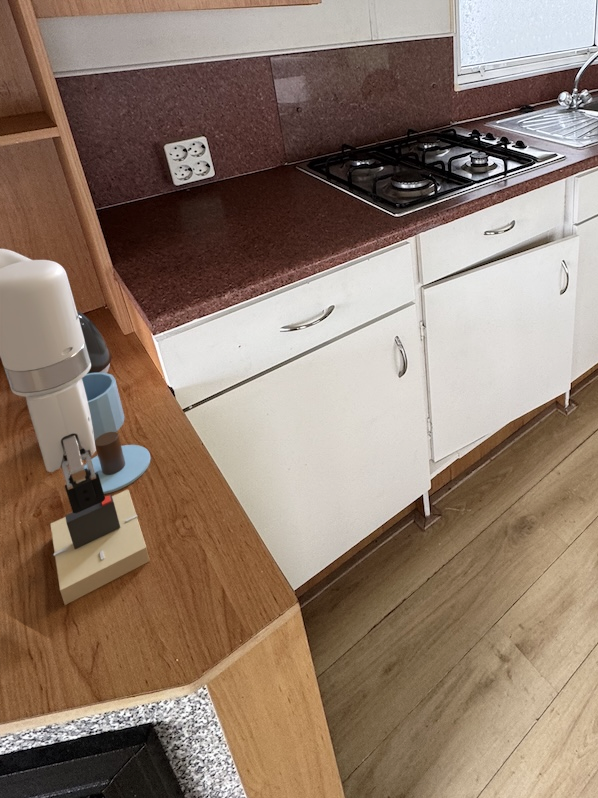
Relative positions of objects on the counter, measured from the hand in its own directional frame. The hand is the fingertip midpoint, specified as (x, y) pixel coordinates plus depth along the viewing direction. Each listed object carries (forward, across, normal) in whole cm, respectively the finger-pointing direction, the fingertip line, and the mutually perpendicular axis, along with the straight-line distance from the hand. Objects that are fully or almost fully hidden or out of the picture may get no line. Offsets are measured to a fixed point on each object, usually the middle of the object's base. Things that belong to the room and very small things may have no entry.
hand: (83, 481), depth 72 cm
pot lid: (+11, -15, +3) cm, 19 cm away
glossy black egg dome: (+12, -44, +3) cm, 45 cm away
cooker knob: (+9, 0, 0) cm, 9 cm away
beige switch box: (+12, 0, 0) cm, 12 cm away
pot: (+12, -28, +2) cm, 30 cm away
